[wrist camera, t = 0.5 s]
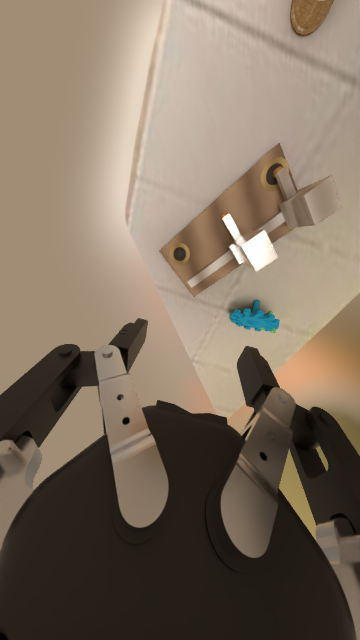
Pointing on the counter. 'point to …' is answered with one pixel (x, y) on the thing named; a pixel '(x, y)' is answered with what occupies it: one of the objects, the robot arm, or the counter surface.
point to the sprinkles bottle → (309, 14)
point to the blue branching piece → (255, 319)
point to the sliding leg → (250, 246)
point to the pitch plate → (247, 219)
